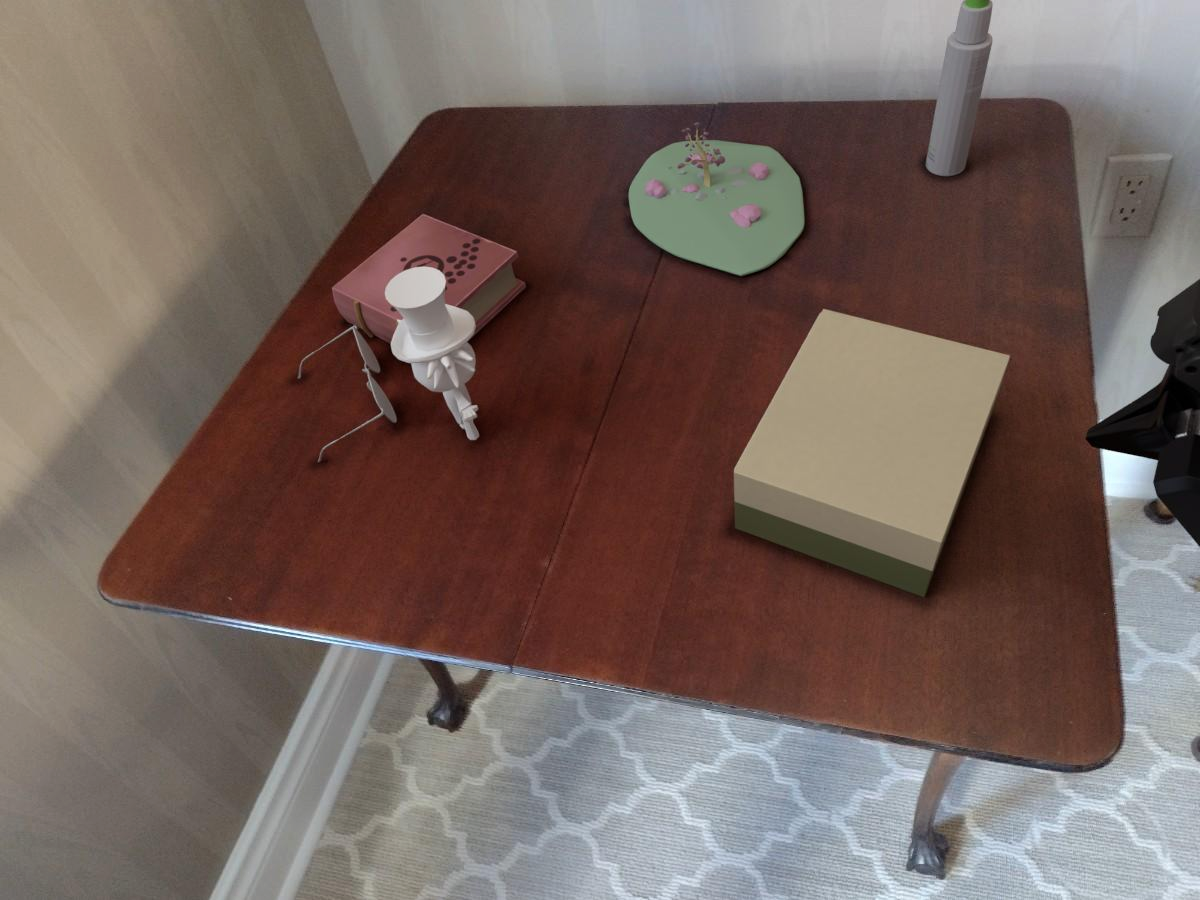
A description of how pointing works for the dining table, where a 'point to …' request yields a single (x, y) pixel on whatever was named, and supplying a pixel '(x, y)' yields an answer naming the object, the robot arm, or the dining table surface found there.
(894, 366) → the beige lidded box
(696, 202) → the green garden diorama
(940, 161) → the bottle
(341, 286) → the book
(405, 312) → the figurine
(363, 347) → the sunglasses
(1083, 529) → the dining table surface
